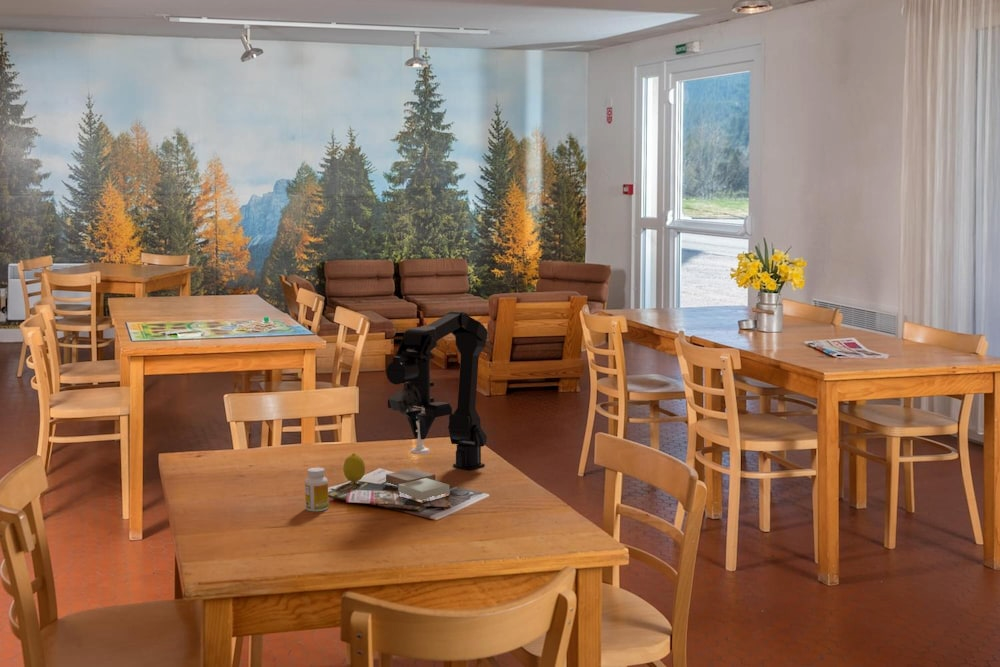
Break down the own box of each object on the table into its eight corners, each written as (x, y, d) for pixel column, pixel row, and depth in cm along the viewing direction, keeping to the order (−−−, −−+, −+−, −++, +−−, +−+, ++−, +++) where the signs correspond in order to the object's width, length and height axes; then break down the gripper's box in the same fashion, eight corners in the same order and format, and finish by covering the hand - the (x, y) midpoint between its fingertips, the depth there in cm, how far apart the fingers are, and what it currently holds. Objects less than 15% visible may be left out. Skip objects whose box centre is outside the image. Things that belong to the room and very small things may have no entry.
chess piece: (408, 451, 284) (407, 412, 283) (427, 450, 286) (426, 411, 285) (413, 455, 280) (412, 415, 279) (432, 453, 281) (431, 414, 280)
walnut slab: (413, 479, 291) (412, 468, 291) (435, 485, 285) (435, 474, 284) (386, 485, 285) (385, 474, 285) (408, 492, 279) (408, 480, 278)
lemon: (354, 479, 291) (354, 449, 290) (369, 483, 288) (369, 453, 287) (339, 484, 287) (338, 453, 286) (354, 487, 283) (353, 457, 282)
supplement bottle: (332, 506, 267) (331, 467, 266) (322, 512, 262) (321, 472, 260) (311, 504, 268) (310, 465, 267) (302, 511, 263) (300, 471, 262)
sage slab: (426, 489, 281) (425, 477, 281) (449, 496, 275) (449, 484, 275) (398, 496, 275) (398, 484, 275) (421, 503, 269) (421, 491, 268)
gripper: (370, 378, 281) (371, 438, 283) (420, 387, 268) (420, 450, 270) (403, 372, 289) (404, 431, 291) (453, 381, 276) (453, 442, 278)
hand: (419, 438), depth 283 cm, fingers closed on chess piece
